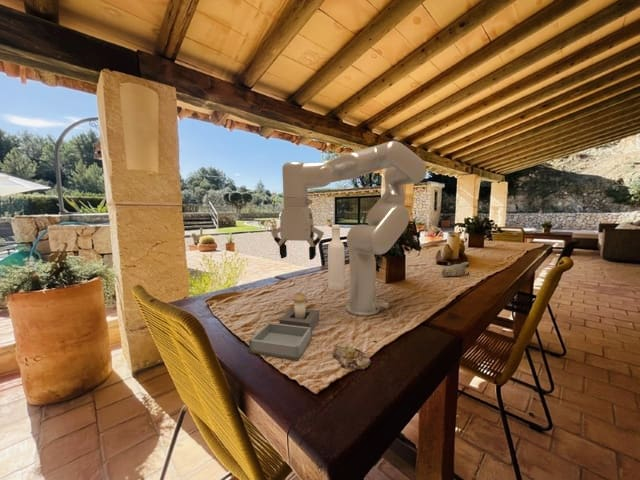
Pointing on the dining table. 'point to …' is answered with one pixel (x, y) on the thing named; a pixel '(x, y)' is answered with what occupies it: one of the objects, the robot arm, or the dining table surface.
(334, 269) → the bottle
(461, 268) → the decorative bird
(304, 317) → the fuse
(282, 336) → the tray
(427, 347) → the dining table surface
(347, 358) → the mineral rock
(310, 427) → the dining table surface
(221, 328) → the dining table surface
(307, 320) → the fuse holder
